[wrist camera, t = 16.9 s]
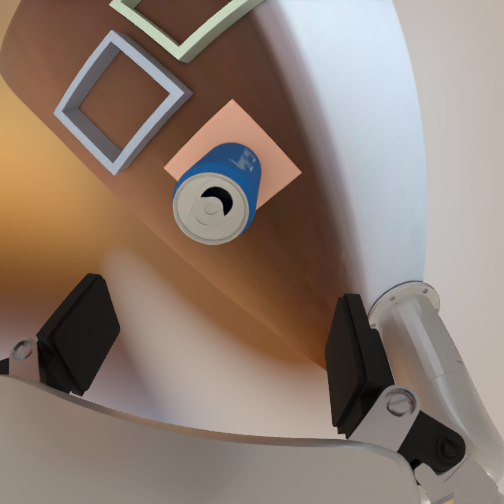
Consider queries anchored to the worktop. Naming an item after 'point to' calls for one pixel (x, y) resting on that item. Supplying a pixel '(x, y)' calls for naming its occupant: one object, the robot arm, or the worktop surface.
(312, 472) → the robot arm
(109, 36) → the slate blue bin
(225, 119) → the terracotta mat
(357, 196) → the worktop surface
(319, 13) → the worktop surface
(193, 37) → the sage green bin
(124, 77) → the worktop surface
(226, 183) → the beverage can
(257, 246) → the worktop surface
